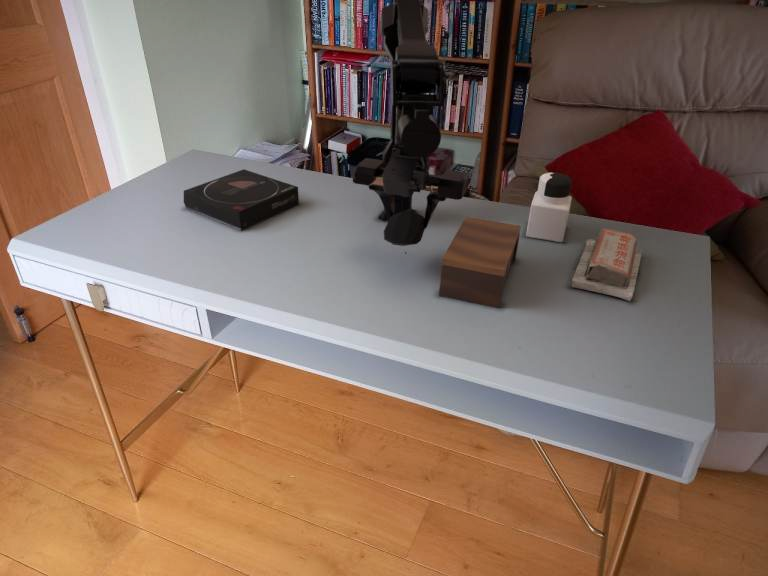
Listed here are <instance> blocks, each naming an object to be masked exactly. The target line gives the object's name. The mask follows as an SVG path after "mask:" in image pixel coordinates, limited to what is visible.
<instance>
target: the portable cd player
mask: <svg viewBox="0 0 768 576" xmlns="http://www.w3.org/2000/svg"><path fill="white" fill-rule="evenodd" d="M299 199H300V198H299V186H296V185H293V184H290V183H287V182H283V181H281V180H278V179H275V178H272V177H269V176H266V175H263V174H260V173H257V172H255V171H252V170H251V171H250V170H248V169H244V168H243V169H241V170H238V171H234V172H231V173H229V174H227V175H224V176H221V177H218V178H215V179H212V180H210V181H207V182H204V183H201V184H199V185H196V186H193V187H190V188H187V189H185V190H183V204H184V206H185V208H186V210H189V211H191V212H194V213H196V214H199V215H201V216H203V217H206V218H208V219H211V220H213V221H216V222H218V223H221V224H222V225H226V226H229V227H231V228H233V229H236V230H239V231H244V230H245V229H248V228H250V227H252V226H254V225H257V224H259V223H261V222H263V221H266V220H268V219H270V218H272V217H274V216H275V217H276V215H280V214H281V213H283V212H285V211H288V210H290V209H292V208H294V207H297V206H299V205H300V200H299Z"/></svg>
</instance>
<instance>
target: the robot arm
mask: <svg viewBox="0 0 768 576" xmlns="http://www.w3.org/2000/svg"><path fill="white" fill-rule="evenodd" d="M379 17H380V19H379V22H380V23H379V34H380V36H381V37H382V36H383V48H384V50H385V52H386V53H387V55H388V57H389V59H390V61H391V62H390V136H389V137H390V139H389V141H388V143H387V144H386V146H385V148H384V150H383V151H382V159H376V158H369V157H365V158H364V159H363V160H361V162H359V164H357V165H356V166H355V167H353V170H352V183H353V184H356V185H362V186H367V187H368V189H369V190H370V191H374V192H375V193H376V194H377V195H378V196H379V199H380V201H381V203H382V206H383V210H382V211H381V212H380V214H379V215H378V216H377V219H378V220H381V221H387V222H388V220H389V219H390V218H391V217H392V216H393V215H395V214H397V213H400V212H403V211H405V210H409V209H413V195H414V193H421V190H426V188H427V187H430V192H429V193H428V194H427V195H426V208H425V212H424V228H425V230H426V229H427V228H428V227H429V224H430V222H431V220H432V217H433V215H434V213H435V211H436V209H437V207H438V204H439V202H445V201H446V200H447V199H449V200H455V201H458V200H459V201H460V200H462V199H463V197H464V196H465V194H466V192H467V190H468V189H469V185H470V176H469V175H468V173H467V172H466V171H465V172H464V171H458V170H451V169H446V170H445V171H444V172H443V174H442V175H436V174H432V173H430V171H429V170H431V169H430V168H431V167H430V166H431V163H430V156H431V155H433V154H434V153H435V152H436V151H437V149H439V146H440V144H441V141H442V134H441V129H440V127H439V126H438V123H437V121H436V119H435V116H434V107H444V106H445V100H446V99H447V97H448V86H447V71H446V68H445V67H444V63H443V61H440V58H439V53H438V50H437V48H436V47H435V46H433V45H431V44H430V43H428V41H427V34H428V32H429V9H428V8H427V7H426V6H424V0H392V3H390V4H388V5H386V6H384V7H382V8H381V12H380V16H379ZM413 211H415V212H416V211H417V210H416V209H413Z"/></svg>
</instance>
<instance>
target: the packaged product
mask: <svg viewBox="0 0 768 576" xmlns="http://www.w3.org/2000/svg"><path fill="white" fill-rule="evenodd" d="M637 239H638V238H637V237H636V236H634V235H633V234H631V233H629V232H624V231H619V230H616V229H609V228H601V230H600V231H599V234H598V236H597V239H596V240H595V239H594V238H588V239H587V240H586V244H585V247H584V249H583V251H582V253H581V256H580V259H579V261H578V264H577V267H576V269H575V270H574V271H575V272H574V274H573V276H572V279H571V288H575V289H580V290H586V291H590V292H594V293H599V294H603V295H606V296H607V295H608V296H613V297H615V298H620V299H623V300H626V301H628V302H631V300H632V298H633V296H634V292H635V288H636V284H637V278H638V273H639V268H640V264H641V260H642V256H643V255H642V254H643V251H642V250H638V249H637Z"/></svg>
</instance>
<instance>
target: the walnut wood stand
mask: <svg viewBox="0 0 768 576" xmlns="http://www.w3.org/2000/svg"><path fill="white" fill-rule="evenodd" d="M521 230H522V226H521V225H518V224H512V223H506V222H500V221H494V220H488V219H481V218H476V217H470V216H465V218H464V219H463V221H462V223H461V224H460V226H459V228H458V230H457V231H456V232H455V235H454V237H453V239H452V241H450V244H449V245H448V248H447V249H446V251H445V253H444V255H443V256H442V260H441V269H440V281H439V292H438V296H439V297H444V298H450V299H453V300H459V301H462V302H468V303H473V304H479V305H483V306H488V307H491V308H492V307H493V308H498V309H499V308H500V307H501V305H502V299H503V293H504V292H503V291H504V285H505V281H506V278H507V275H508V272H509V269H510V266H511V264H512V263H513V264H515V262H516V260H517V253H518V248H519V241H520V236H521V235H520V234H521Z"/></svg>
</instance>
